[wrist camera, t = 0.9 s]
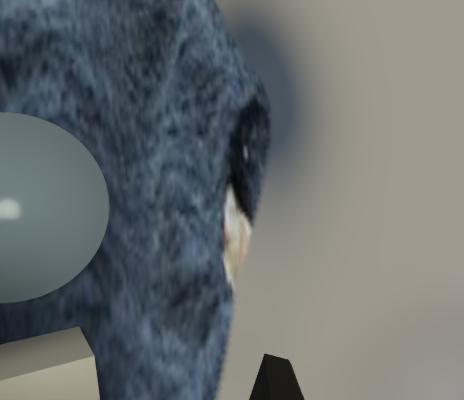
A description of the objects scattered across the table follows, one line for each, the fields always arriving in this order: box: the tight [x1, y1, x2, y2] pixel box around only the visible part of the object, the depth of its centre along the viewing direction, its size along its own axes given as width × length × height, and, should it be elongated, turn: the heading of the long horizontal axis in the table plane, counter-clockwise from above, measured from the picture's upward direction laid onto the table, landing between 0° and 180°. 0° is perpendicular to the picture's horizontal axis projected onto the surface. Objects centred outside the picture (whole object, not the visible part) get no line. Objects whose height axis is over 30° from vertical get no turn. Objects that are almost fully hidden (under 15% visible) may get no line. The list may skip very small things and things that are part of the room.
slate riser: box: [0, 112, 109, 303], centre depth 20 cm, size 8×8×4 cm
